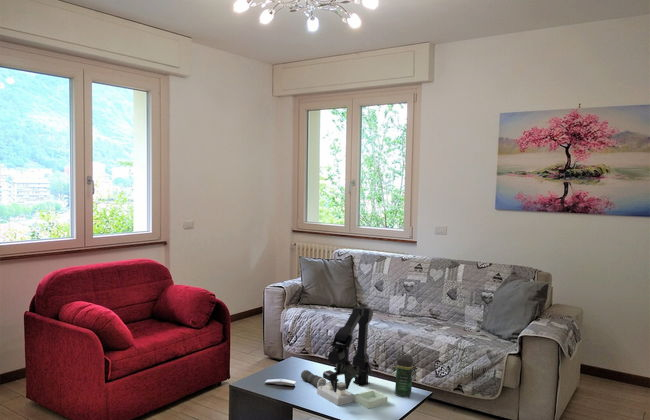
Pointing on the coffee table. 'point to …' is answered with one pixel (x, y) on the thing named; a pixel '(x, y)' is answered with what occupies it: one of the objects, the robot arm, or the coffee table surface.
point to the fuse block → (335, 396)
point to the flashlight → (313, 378)
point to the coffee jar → (404, 376)
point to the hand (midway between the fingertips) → (341, 390)
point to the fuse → (329, 386)
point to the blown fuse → (341, 388)
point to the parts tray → (370, 399)
